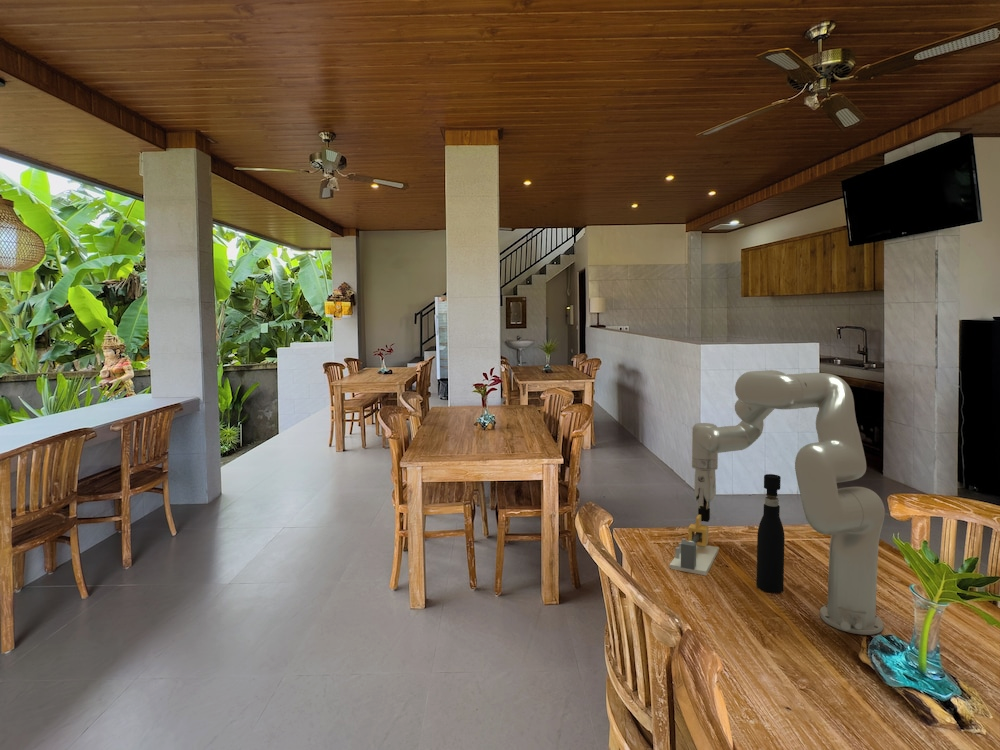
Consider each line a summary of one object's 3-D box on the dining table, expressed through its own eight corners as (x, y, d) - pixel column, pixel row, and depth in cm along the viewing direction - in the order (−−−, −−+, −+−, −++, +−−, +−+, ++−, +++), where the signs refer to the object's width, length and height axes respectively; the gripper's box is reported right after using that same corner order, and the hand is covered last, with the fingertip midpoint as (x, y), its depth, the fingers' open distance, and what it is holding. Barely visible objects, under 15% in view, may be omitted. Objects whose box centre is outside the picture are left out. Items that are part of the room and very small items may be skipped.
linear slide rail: (705, 576, 159) (706, 548, 159) (669, 569, 164) (669, 541, 164) (718, 550, 177) (719, 525, 176) (685, 545, 182) (685, 520, 181)
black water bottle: (755, 590, 150) (757, 477, 148) (757, 580, 156) (759, 471, 154) (782, 595, 147) (785, 480, 145) (783, 585, 153) (786, 474, 151)
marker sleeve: (705, 546, 171) (706, 519, 171) (688, 543, 174) (688, 517, 173) (708, 542, 175) (708, 515, 174) (691, 539, 177) (691, 513, 177)
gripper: (713, 469, 172) (712, 529, 173) (721, 459, 184) (720, 515, 186) (687, 467, 175) (686, 525, 177) (697, 457, 188) (696, 512, 190)
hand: (703, 520), depth 181 cm, fingers closed
